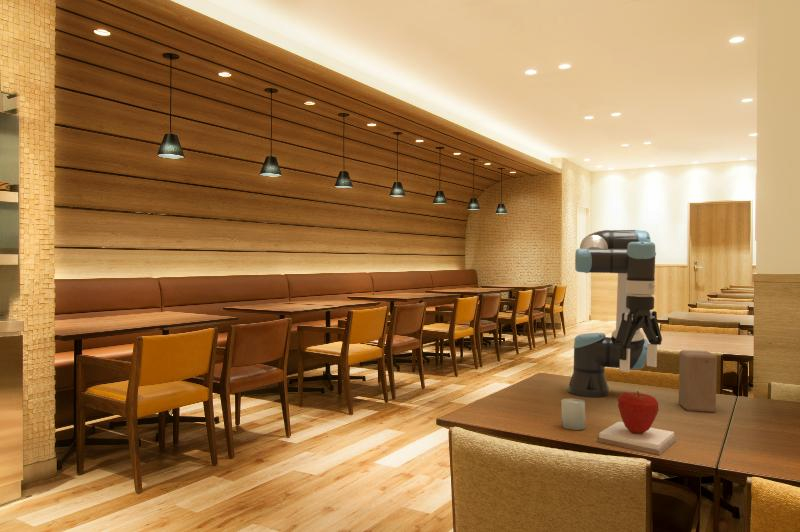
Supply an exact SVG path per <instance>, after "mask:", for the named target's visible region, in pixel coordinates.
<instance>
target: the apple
mask: <svg viewBox="0 0 800 532" xmlns="http://www.w3.org/2000/svg"><path fill="white" fill-rule="evenodd" d="M617 407H618V410H619V413H620V417H621V420H622V421H623V422H624V425H625V427H626V428H627V429H628V430H629V431H630V432H632V433H644V432H645V431H647V430H649V429H650V428H652V425H653V423H654V421H655V420H656V418H657V415H658V412H659V401H658V400H657V399H656V398H655V396H652V395H649V394H646V393H639V390H637V391H636V392H623V393H622V394H620V396H618V399H617Z"/></svg>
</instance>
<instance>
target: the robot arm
mask: <svg viewBox="0 0 800 532" xmlns="http://www.w3.org/2000/svg"><path fill="white" fill-rule="evenodd" d="M574 254H575V257H574V266H575V267H574V268H575V271H576V272H578V273H584V274H589V273H591V274H593V273H597V274H601V273H602V274H603V273H604V274H617V288H616V289H617V290H616V295H617V296H616V317H615V319H616V320H615V321H616V322H615V330H614V331H612V332H611V336H610V337H606V333H604V332H588V333H582V334H578V335H576V336H575V338H574V340H573V342H574V343H573V370H572V375H571V377H570V381H569V383H568V387H567V388H568V392H569V393H570V394H573V395H577V396H582V397H591V398H593V397H594V398H600V397H601V398H602V397H607V396H610V395H609V394H610V387H609V386H608V382H607V378H606V375H605V371H606V370H605V368H611V369H613V368H614V369H619V371H620V372H624V373H630V371H631V370H642V369H643V368H644V367H645V365H646V367H650V368H651V367H652V368H657V365H658V364H657V362H658V360H657V359H658V345H659V346H660V345H661V344H662V341H663V336H662V334H661V329H660V326H659V322H658V317H657V314H658V313H657V311H654V309H655V297H654V296H653V295H655V288H656V285H655V279H656V278H655V270H656V255H657V252H656V244H655V242H652V240H651V236H650V233H649V232H648V231H646V230H639V229H638V230H637V229H618V230H617V229H616V230H615V229H613V230H612V229H604V230H598V231H595V232H593V233H590V234H588V235H586V236H585V237H584V238H583V239H582V240H581V242H580V245H579V248H577V249H576V250H575V253H574ZM641 329H642V331H643V333H642V331H641ZM645 336H646V337H645ZM645 338H646V339H645Z"/></svg>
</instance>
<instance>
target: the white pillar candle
mask: <svg viewBox="0 0 800 532" xmlns="http://www.w3.org/2000/svg"><path fill="white" fill-rule="evenodd" d="M560 402H561V426H562V428H564V429H567V430H571V431H572V430H573V431H576V430H577V431H580V430H584V429H586V401H585V400H584V399H580V398H563V399H561V400H560Z"/></svg>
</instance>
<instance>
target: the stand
mask: <svg viewBox="0 0 800 532" xmlns="http://www.w3.org/2000/svg"><path fill="white" fill-rule="evenodd" d="M598 435H599V436H597V437H596V442H598V443H601V444H606V445H611V446H616V447H620V448H625V449H629V450H632V451H639V452H642V453H648V454H651V455H656V456H660V455H661V454H662V453H664V452H665V451H666V450H667V449H669V447H671V446H672V445H673V444H674V443H675V442H676V441H677V436H675V431H672V430H671V431H670V430H665V429H660V428H655V427H650V429H649V430H647V431H645V432H644V433H632V432H630V431H629V430H628V429H627V428H626V427H625V425H624V422H622V421H617V422H615V423H613V424H612V425H611V426H608V427H607V428H605V429H604V430H601V431H600V432H599V434H598Z"/></svg>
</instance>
